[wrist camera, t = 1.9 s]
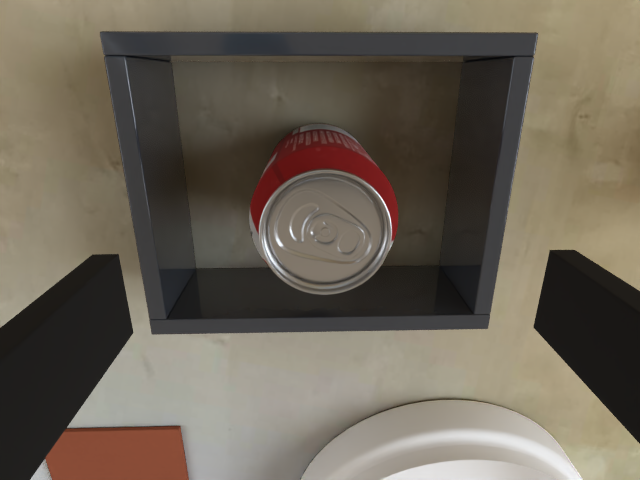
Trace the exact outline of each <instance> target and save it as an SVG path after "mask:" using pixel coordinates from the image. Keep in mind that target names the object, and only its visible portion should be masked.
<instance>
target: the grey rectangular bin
mask: <svg viewBox="0 0 640 480" xmlns="http://www.w3.org/2000/svg"><path fill="white" fill-rule="evenodd" d="M100 37H101V42H102V48H103V54H104V55H105V57H104V59H105V65H106V71H107V77H108V83H109V88H110V94H111V100H112V106H113V111H114V117H115V123H116V129H117V134H118V140H119V146H120V152H121V157H122V163H123V169H124V175H125V181H126V186H127V192H128V198H129V204H130V209H131V215H132V221H133V227H134V232H135V238H136V244H137V250H138V255H139V261H140V267H141V273H142V279H143V284H144V290H145V296H146V302H147V307H148V313H149V319H150V326H151V332H152V334H206V333H267V332H327V331H388V330H448V329H488V325H489V319H490V312H491V306H492V300H493V295H494V289H495V283H496V277H497V271H498V265H499V260H500V254H501V248H502V242H503V236H504V230H505V225H506V219H507V213H508V207H509V201H510V196H511V190H512V184H513V178H514V172H515V166H516V161H517V155H518V149H519V143H520V137H521V131H522V126H523V120H524V114H525V108H526V102H527V96H528V91H529V85H530V79H531V73H532V67H533V61H534V57H533V56H534V55H535V50H536V44H537V38H538V33H515V32H144V31H102V32H100ZM171 62H463V63H462V72H461V81H460V89H459V98H458V107H457V115H456V124H455V133H454V142H453V150H452V159H451V168H450V177H449V185H448V194H447V203H446V211H445V220H444V229H443V238H442V246H441V255H440V264H439V265H440V266H380V268H379V269H378V270H377V271H376V273H375V274H374V275H373V276H372V277H370V278H369V279H368V280H367V281H365V282H364V283H362V284H361V285H359V286H357V287H355V288H353V289H351V290H348V291H345V292H341V293H337V294H328V295H321V294H312V293H308V292H304V291H301V290H298V289H296V288H294V287H292V286H290V285H288V284H287V283H285V282H284V281H283V280H281V279H280V278H279V277H278V276H277V275H276V274H275V273H274V272H273V271H272V269H271V268H213V269H196V263H195V255H194V246H193V238H192V230H191V221H190V213H189V205H188V196H187V188H186V180H185V171H184V163H183V155H182V146H181V138H180V130H179V121H178V113H177V105H176V96H175V88H174V80H173V71H172V63H171Z"/></svg>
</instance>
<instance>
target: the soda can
mask: <svg viewBox="0 0 640 480" xmlns="http://www.w3.org/2000/svg"><path fill="white" fill-rule="evenodd" d="M249 225H250V231H251V235H252V239H253V242H254V244H255V247H256V249H257V251H258V252H259V254H260V255H261V257H262V258H263V260H264V261H265V262H266V263H267V264H268V265H269V267H270V268H271V269H272V271H273V272H274V273H275V274H276V275H277V276H278V277H279V278H280V279H281V280H283V281H284V282H285V283H287V284H288V285H290V286H292V287H294V288H296V289H298V290H301V291H304V292H308V293H312V294H321V295H328V294H337V293H341V292H345V291H348V290H351V289H353V288H355V287H357V286H359V285H361V284H362V283H364V282H365V281H367V280H368V279H369V278H370V277H372V276H373V275H374V274H375V273H376V271H377V270H378V269H379V268H380V266H381V265H382V263H383V262H384V260H385V258H386V256H387V254H388V252H389V250H390V248H391V246H392V244H393V241H394V239H395V236H396V232H397V227H398V206H397V201H396V197H395V194H394V191H393V189H392V187H391V184H390V183H389V181H388V179H387V178H386V176H385V175H384V174H383V172H382V171H381V170H380V169H379V167H378V166H377V165H376V164H375V162H374V161H373V160H372V159H371V157H370V156H369V155H368V154H367V152H366V151H365V150H364V149H363V147H362V146H361V145H360V144H359V142H358V141H357V140H356V139H355V138H354V137H353V136H352V135H351V134H349V133H348V132H346V131H345V130H343V129H341V128H339V127H336V126H333V125H329V124H321V123H319V124H309V125H305V126H301V127H299V128H297V129H295V130H293V131H291V132H290V133H288V134H287V135H286V136H285V137H284V138H283V139H282V140H281V141H280V142H279V143H278V144H277V146H276V147H275V149H274V151H273V153H272V155H271V157H270V159H269V161H268V163H267V165H266V168H265V170H264V172H263V174H262V176H261V178H260V180H259V182H258V185H257V187H256V189H255V191H254V194H253V197H252V200H251V204H250V211H249Z"/></svg>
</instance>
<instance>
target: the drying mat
mask: <svg viewBox="0 0 640 480" xmlns="http://www.w3.org/2000/svg"><path fill="white" fill-rule="evenodd" d="M45 459H46V462H47V465H48V468H49V471H50V474H51V477H52V480H189V478H188V472H187V465H186V459H185V453H184V447H183V440H182V434H181V428H180V426H164V427H119V428H74V429H65V431H64V432H63V433H62V435H61V436H60V438H59V439H58V441H57V442H56V443H55V445H54V446H53V448H52V449H51V450H50V452H49V453H48V455H47V456H46V458H45Z"/></svg>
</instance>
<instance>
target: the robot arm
mask: <svg viewBox="0 0 640 480" xmlns="http://www.w3.org/2000/svg"><path fill="white" fill-rule="evenodd" d="M534 328H535V329H536V331H537V332H538V333H539V334H540V335H541V336H542V337H543V338H544V339H545V340H546V341H547V343H548V344H549V345H550V346H551V347H552V348H553V349H554V350H555V351H556V352H557V354H558V355H559V356H560V357H561V358H562V359H563V360H564V361H565V362H566V363H567V364H568V366H569V367H570V368H571V369H572V370H573V371H574V372H575V373H576V374H577V375H578V376H579V378H580V379H581V380H582V381H583V382H584V383H585V384H586V385H587V386H588V387H589V389H590V390H591V391H592V392H593V393H594V394H595V395H596V396H597V397H598V398H599V399H600V401H601V402H602V403H603V404H604V405H605V406H606V407H607V408H608V409H609V410H610V412H611V413H612V414H613V415H614V416H615V417H616V418H617V419H618V420H619V421H620V422H621V424H622V425H623V426H624V427H625V428H626V429H627V430H628V431H629V432H630V433H631V435H632V436H633V437H634V438H635V439H636V440H637V441H638V442H639V443H640V291H639V290H637V289H635V288H634V287H632V286H631V285H629V284H628V283H626V282H624V281H623V280H621V279H620V278H618V277H616V276H615V275H613V274H612V273H610V272H609V271H607V270H605V269H604V268H602V267H601V266H599V265H598V264H596V263H594V262H593V261H591V260H590V259H588V258H586V257H585V256H583V255H582V254H580V253H579V252H577V251H575V250H550V252H549V257H548V262H547V266H546V271H545V276H544V281H543V285H542V290H541V295H540V299H539V304H538V309H537V313H536V318H535V323H534ZM132 334H133V328H132V323H131V318H130V313H129V307H128V302H127V297H126V291H125V286H124V281H123V276H122V270H121V265H120V260H119V254H102V255H92V256H90V257H89V258H88V259H87V260H85V261H84V262H83V263H82V264H80V265H79V266H78V267H76V268H75V269H74V270H73V271H71V272H70V273H69V274H68V275H66V276H65V277H64V278H63V279H61V280H60V281H59V282H58V283H56V284H55V285H54V286H53V287H51V288H50V289H49V290H48V291H46V292H45V293H44V294H43V295H41V296H40V297H39V298H37V299H36V300H35V301H34V302H32V303H31V304H30V305H29V306H27V307H26V308H25V309H24V310H22V311H21V312H20V313H19V314H17V315H16V316H15V317H14V318H12V319H11V320H10V321H9V322H7V323H6V324H5V325H4V326H2V327H1V328H0V480H30V479H31V477H32V476H33V475H34V473H35V472H36V470H37V469H38V468H39V466H40V465H41V463H42V462H43V460H44V459H45V458H46V456H47V455H48V453H49V452H50V450H51V449H52V448H53V446H54V445H55V443H56V442H57V441H58V439H59V438H60V436H61V435H62V433H63V432H64V431H65V429H66V428H67V426H68V425H69V423H70V422H71V421H72V419H73V418H74V416H75V415H76V414H77V412H78V411H79V409H80V408H81V406H82V405H83V404H84V402H85V401H86V399H87V398H88V396H89V395H90V394H91V392H92V391H93V389H94V388H95V386H96V385H97V384H98V382H99V381H100V379H101V378H102V377H103V375H104V374H105V372H106V371H107V369H108V368H109V367H110V365H111V364H112V362H113V361H114V359H115V358H116V357H117V355H118V354H119V352H120V351H121V350H122V348H123V347H124V345H125V344H126V342H127V341H128V340H129V338H130V337H131V335H132Z"/></svg>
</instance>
